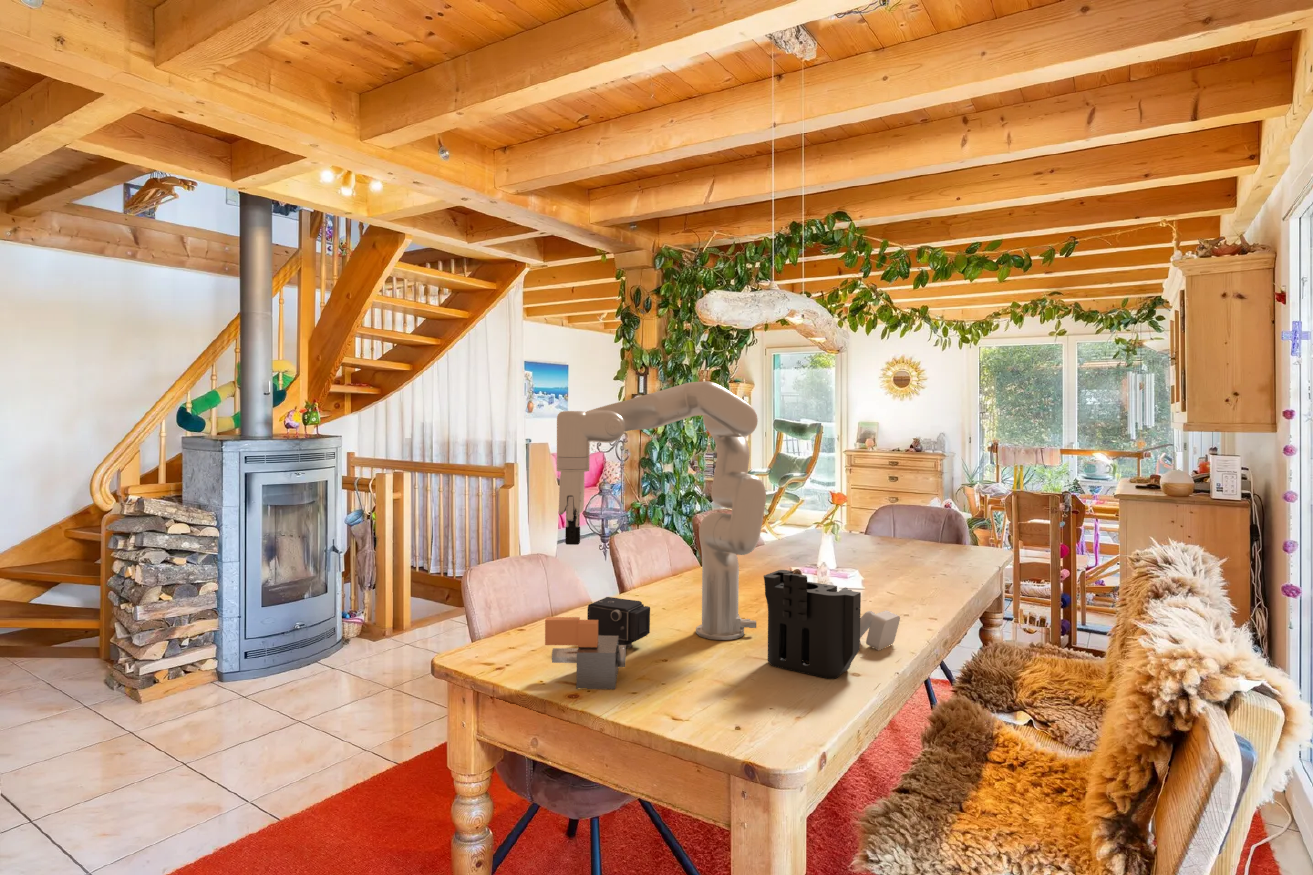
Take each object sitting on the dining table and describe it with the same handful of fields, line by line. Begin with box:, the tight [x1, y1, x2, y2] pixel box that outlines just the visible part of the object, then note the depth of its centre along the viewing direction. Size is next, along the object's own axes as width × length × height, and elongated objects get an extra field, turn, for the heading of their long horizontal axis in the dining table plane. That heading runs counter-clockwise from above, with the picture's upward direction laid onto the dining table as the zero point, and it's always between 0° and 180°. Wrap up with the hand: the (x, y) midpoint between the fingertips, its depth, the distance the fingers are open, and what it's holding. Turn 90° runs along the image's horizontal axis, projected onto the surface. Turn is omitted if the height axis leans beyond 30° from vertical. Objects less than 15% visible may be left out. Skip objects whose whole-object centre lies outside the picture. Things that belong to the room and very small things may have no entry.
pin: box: [551, 645, 627, 668], centre depth 158 cm, size 16×5×5 cm, turn 90°
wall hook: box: [860, 609, 901, 651], centre depth 184 cm, size 8×10×10 cm
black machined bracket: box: [763, 569, 862, 680], centre depth 164 cm, size 12×21×22 cm, turn 54°
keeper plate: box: [544, 616, 598, 647], centre depth 156 cm, size 11×3×6 cm, turn 90°
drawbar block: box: [576, 636, 619, 690], centre depth 158 cm, size 8×12×8 cm, turn 0°
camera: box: [586, 596, 651, 649], centre depth 182 cm, size 11×11×15 cm
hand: (572, 543), depth 169 cm, fingers closed
